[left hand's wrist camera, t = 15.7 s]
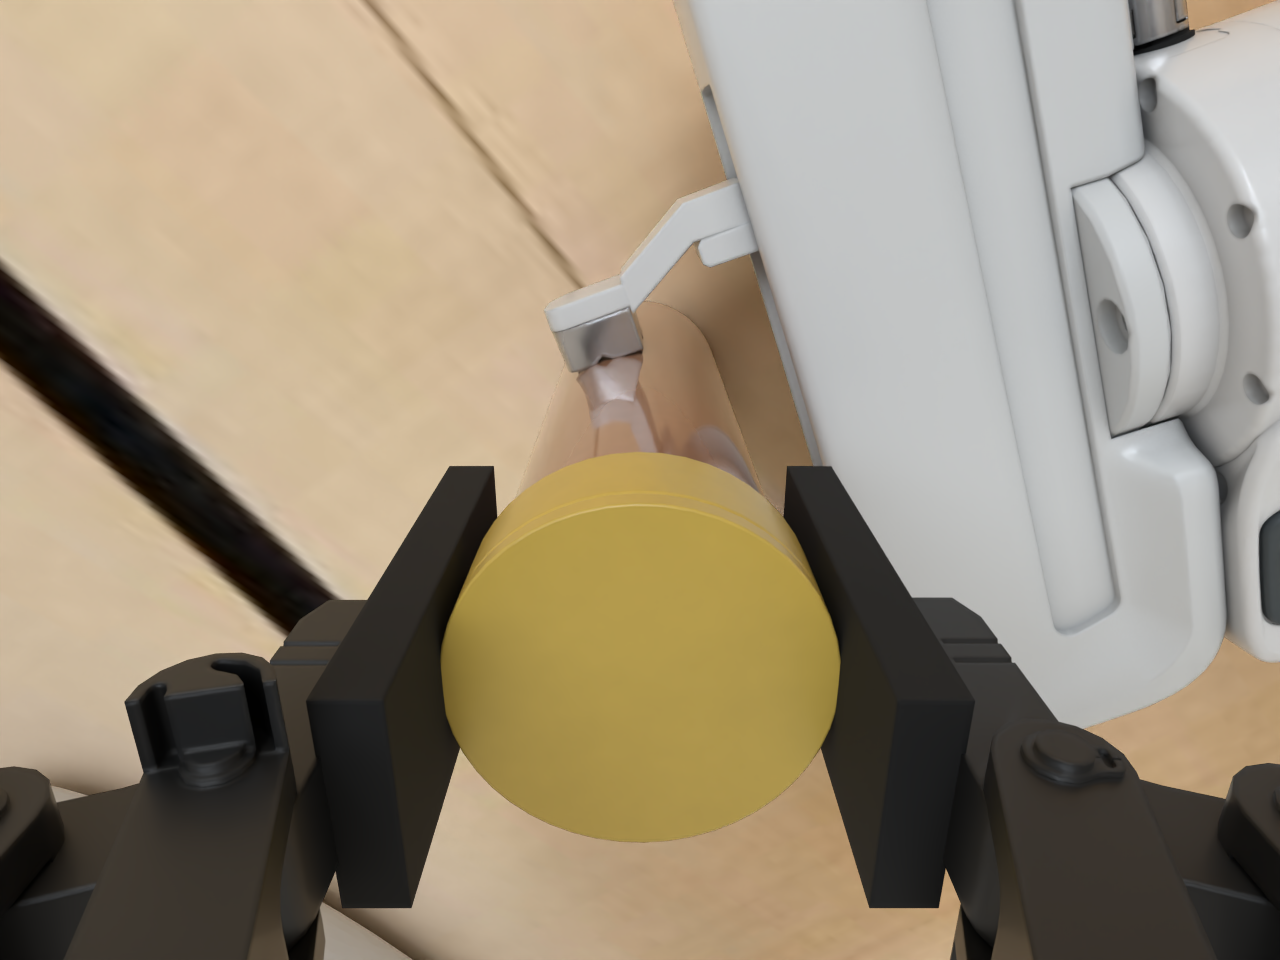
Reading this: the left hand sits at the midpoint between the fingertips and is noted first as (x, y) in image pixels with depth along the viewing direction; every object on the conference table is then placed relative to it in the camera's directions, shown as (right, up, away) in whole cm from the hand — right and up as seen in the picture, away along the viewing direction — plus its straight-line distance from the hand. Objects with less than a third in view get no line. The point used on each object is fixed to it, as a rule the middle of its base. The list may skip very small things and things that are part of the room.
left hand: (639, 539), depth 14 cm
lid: (0, -1, -4) cm, 4 cm away
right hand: (-1, +2, +5) cm, 5 cm away
